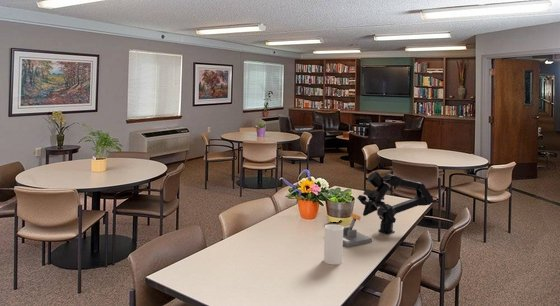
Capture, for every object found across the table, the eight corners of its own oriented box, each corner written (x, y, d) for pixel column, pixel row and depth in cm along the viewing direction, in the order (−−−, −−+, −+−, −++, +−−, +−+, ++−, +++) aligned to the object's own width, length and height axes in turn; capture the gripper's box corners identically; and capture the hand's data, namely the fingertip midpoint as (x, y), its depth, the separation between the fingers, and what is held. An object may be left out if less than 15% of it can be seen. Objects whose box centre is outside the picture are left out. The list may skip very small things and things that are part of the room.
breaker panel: (348, 231, 236) (348, 222, 235) (371, 241, 221) (372, 231, 220) (325, 236, 227) (325, 226, 226) (348, 247, 212) (348, 236, 211)
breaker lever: (345, 233, 226) (354, 214, 227) (352, 236, 222) (361, 217, 223) (343, 232, 225) (352, 213, 226) (349, 234, 221) (358, 215, 222)
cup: (329, 256, 200) (330, 223, 198) (345, 260, 195) (346, 226, 193) (320, 261, 193) (321, 227, 191) (336, 266, 188) (338, 231, 186)
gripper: (360, 180, 236) (344, 202, 232) (385, 187, 221) (368, 210, 216) (370, 192, 242) (354, 214, 237) (395, 200, 226) (379, 223, 222)
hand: (363, 215), depth 228 cm, fingers closed
